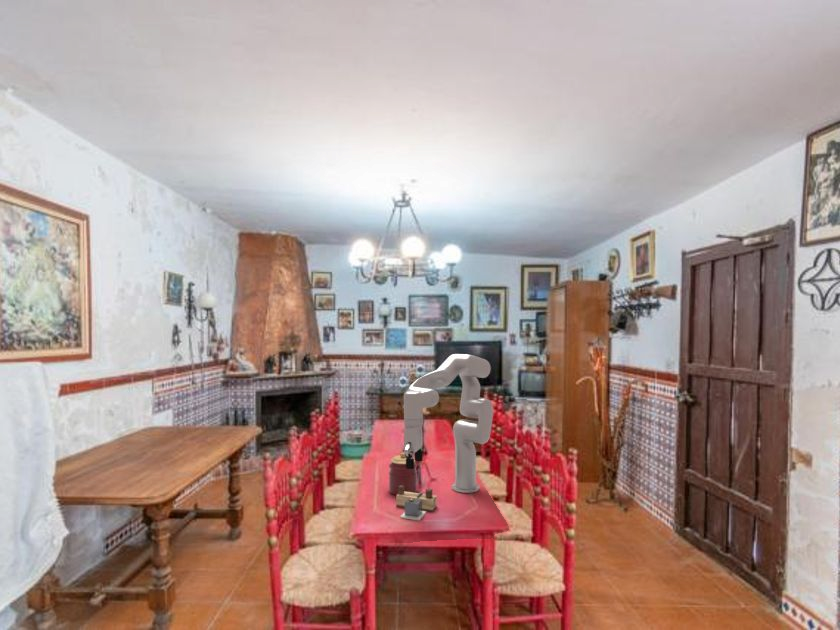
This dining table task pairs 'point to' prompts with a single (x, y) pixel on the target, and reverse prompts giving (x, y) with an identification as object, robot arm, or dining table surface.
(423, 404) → the robot arm
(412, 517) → the felt pad
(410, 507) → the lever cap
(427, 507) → the plane body
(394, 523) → the dining table surface
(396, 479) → the canister
